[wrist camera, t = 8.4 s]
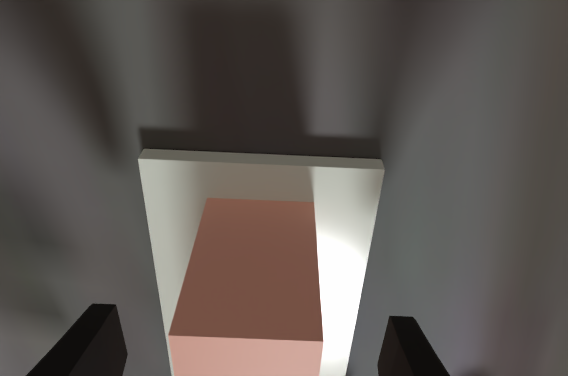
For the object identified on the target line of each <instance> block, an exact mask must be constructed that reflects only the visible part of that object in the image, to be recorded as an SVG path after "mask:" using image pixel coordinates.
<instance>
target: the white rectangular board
mask: <svg viewBox="0 0 568 376" xmlns="http://www.w3.org/2000/svg"><path fill="white" fill-rule="evenodd" d="M138 162H139V168H140V175H141V181H142V188H143V194H144V200H145V207H146V213H147V220H148V226H149V232H150V239H151V245H152V252H153V258H154V264H155V271H156V277H157V284H158V290H159V296H160V303H161V309H162V316H163V322H164V328H165V335H166V341H167V348H168V354H169V360H170V367H171V373H172V376H174V371H173V364H172V358H171V351H170V345H169V338H168V334H169V331H170V327H171V323H172V320H173V316H174V313H175V309H176V306H177V302H178V299H179V295H180V292H181V288H182V285H183V281H184V277H185V274H186V270H187V267H188V263H189V260H190V256H191V253H192V249H193V246H194V242H195V239H196V235H197V231H198V228H199V224H200V221H201V217H202V214H203V210H204V207H205V203H206V200H207V198H225V199H248V200H272V201H296V202H314V207H315V222H316V236H317V251H318V265H319V280H320V294H321V309H322V323H323V338H324V344H323V351H322V358H321V366H320V373H319V376H345V375H346V370H347V365H348V359H349V354H350V349H351V344H352V338H353V333H354V328H355V323H356V317H357V312H358V307H359V302H360V297H361V291H362V286H363V281H364V276H365V270H366V265H367V260H368V255H369V249H370V244H371V239H372V234H373V229H374V223H375V218H376V213H377V208H378V202H379V197H380V192H381V187H382V181H383V176H384V171H385V169H384V166H383V163H382V160H381V159H364V158H342V157H319V156H297V155H274V154H252V153H229V152H207V151H184V150H162V149H143V151H142V153H141V154H140V156H139V158H138Z"/></svg>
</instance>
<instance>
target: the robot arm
mask: <svg viewBox="0 0 568 376" xmlns="http://www.w3.org/2000/svg"><path fill="white" fill-rule="evenodd" d="M127 355H128V354H127V349H126V345H125V341H124V337H123V332H122V328H121V324H120V320H119V315H118V311H117V307H116V305H114V304H92V305H91V306H89V307H88V309H87V310H86V311H85V312H84V313H83V314H82V315H81V316H80V318H79V319H78V320H77V321H76V322H75V323H74V324H73V325H72V327H71V328H70V329H69V330H68V331H67V332H66V333H65V334H64V336H63V337H62V338H61V339H60V340H59V341H58V342H57V343H56V344H55V345H54V347H53V348H52V349H51V350H50V351H49V352H48V353H47V354H46V355H45V356H44V357H43V358H42V359H41V360H40V361H39V363H38V364H37V365H36V366H35V367H34V368H33V369H32V370H31V371H30V372H29V373H28V374H27V375H26V376H122V375H123V371H124V367H125V363H126V359H127ZM377 365H378V374H379V376H450V375H449V373H448V372H447V370H446V369H445V367H444V366H443V364H442V363H441V361H440V359H439V358H438V356H437V355H436V353H435V352H434V350H433V348H432V347H431V345H430V343H429V342H428V340H427V338H426V337H425V335H424V333H423V332H422V330H421V328H420V327H419V325H418V323H417V321H416V320H415V319H414V318H413V317H403V316H389V320H388V324H387V328H386V332H385V336H384V340H383V344H382V348H381V352H380V356H379V360H378V364H377Z"/></svg>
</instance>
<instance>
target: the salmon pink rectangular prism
mask: <svg viewBox="0 0 568 376" xmlns="http://www.w3.org/2000/svg"><path fill="white" fill-rule="evenodd" d="M168 338H169V345H170V351H171V358H172V364H173V371H174V376H319V373H320V366H321V358H322V351H323V344H324V338H323V323H322V309H321V294H320V280H319V265H318V251H317V236H316V222H315V207H314V202H296V201H272V200H248V199H225V198H207V200H206V203H205V207H204V210H203V214H202V217H201V221H200V224H199V228H198V231H197V235H196V239H195V242H194V246H193V249H192V253H191V256H190V260H189V263H188V267H187V270H186V274H185V277H184V281H183V285H182V288H181V292H180V295H179V299H178V302H177V306H176V309H175V313H174V316H173V320H172V323H171V327H170V331H169V334H168Z"/></svg>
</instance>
